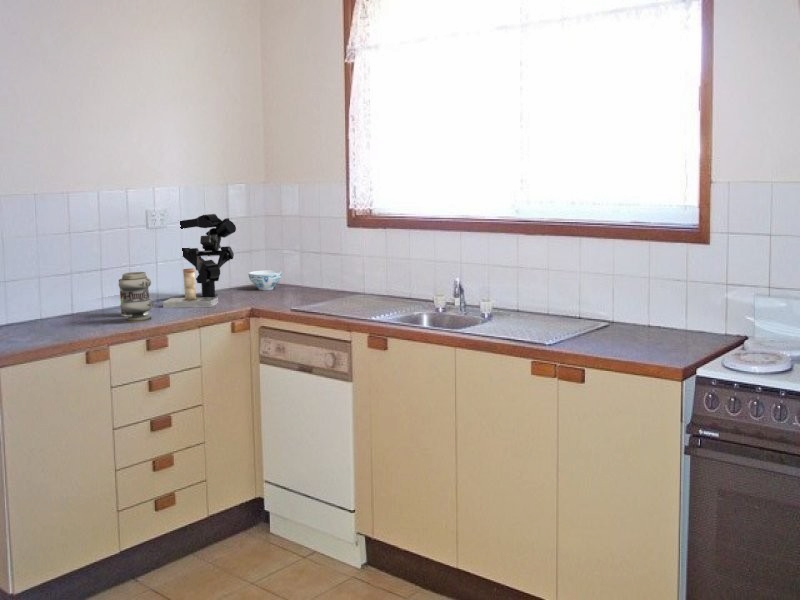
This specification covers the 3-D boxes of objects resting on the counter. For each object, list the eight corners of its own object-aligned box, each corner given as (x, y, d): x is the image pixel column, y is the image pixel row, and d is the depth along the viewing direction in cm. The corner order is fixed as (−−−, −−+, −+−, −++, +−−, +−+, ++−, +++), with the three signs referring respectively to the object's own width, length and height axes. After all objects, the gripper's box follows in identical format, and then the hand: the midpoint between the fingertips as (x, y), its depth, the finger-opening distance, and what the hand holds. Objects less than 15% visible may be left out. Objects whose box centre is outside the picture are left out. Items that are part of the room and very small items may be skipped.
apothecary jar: (120, 319, 362) (116, 272, 360) (152, 316, 366) (149, 269, 364) (122, 324, 351) (119, 275, 348) (156, 321, 355) (152, 273, 353)
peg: (191, 304, 394) (189, 268, 392) (199, 305, 391) (196, 268, 389) (183, 305, 390) (180, 269, 388) (190, 306, 388) (188, 270, 386)
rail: (171, 304, 397) (170, 298, 396) (218, 303, 395) (217, 297, 394) (163, 307, 387) (162, 301, 386) (211, 307, 385) (211, 300, 385)
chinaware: (271, 285, 443) (270, 269, 442) (289, 288, 432) (288, 271, 431) (243, 289, 434) (242, 272, 432) (260, 292, 422) (259, 275, 421)
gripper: (186, 229, 402) (179, 258, 393) (229, 227, 399) (222, 255, 390) (195, 246, 411) (188, 274, 402) (236, 244, 408) (230, 272, 399)
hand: (206, 269), depth 398 cm, fingers open, 9 cm apart
